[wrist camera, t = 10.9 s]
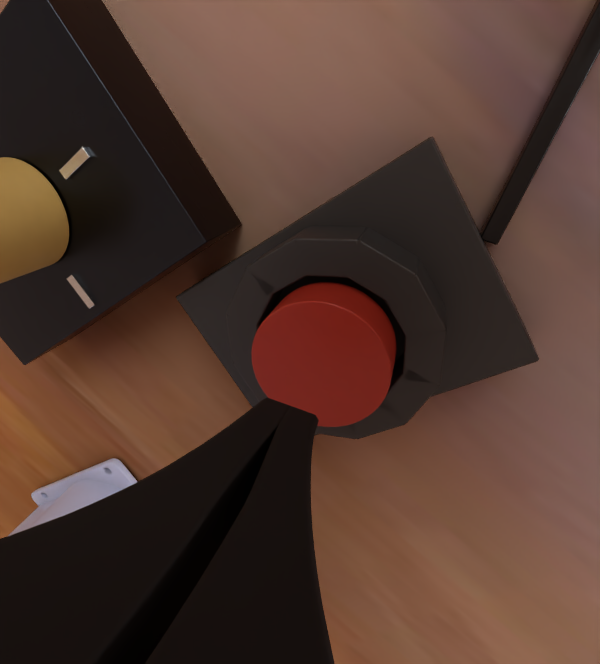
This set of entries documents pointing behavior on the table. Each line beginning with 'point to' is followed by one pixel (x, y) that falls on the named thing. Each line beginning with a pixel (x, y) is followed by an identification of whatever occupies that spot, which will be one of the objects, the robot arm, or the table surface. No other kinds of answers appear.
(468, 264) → the switch box
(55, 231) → the dimmer knob
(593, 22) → the table lamp
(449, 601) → the table surface
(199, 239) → the dimmer panel
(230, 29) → the table surface
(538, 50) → the table surface
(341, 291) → the lamp switch
